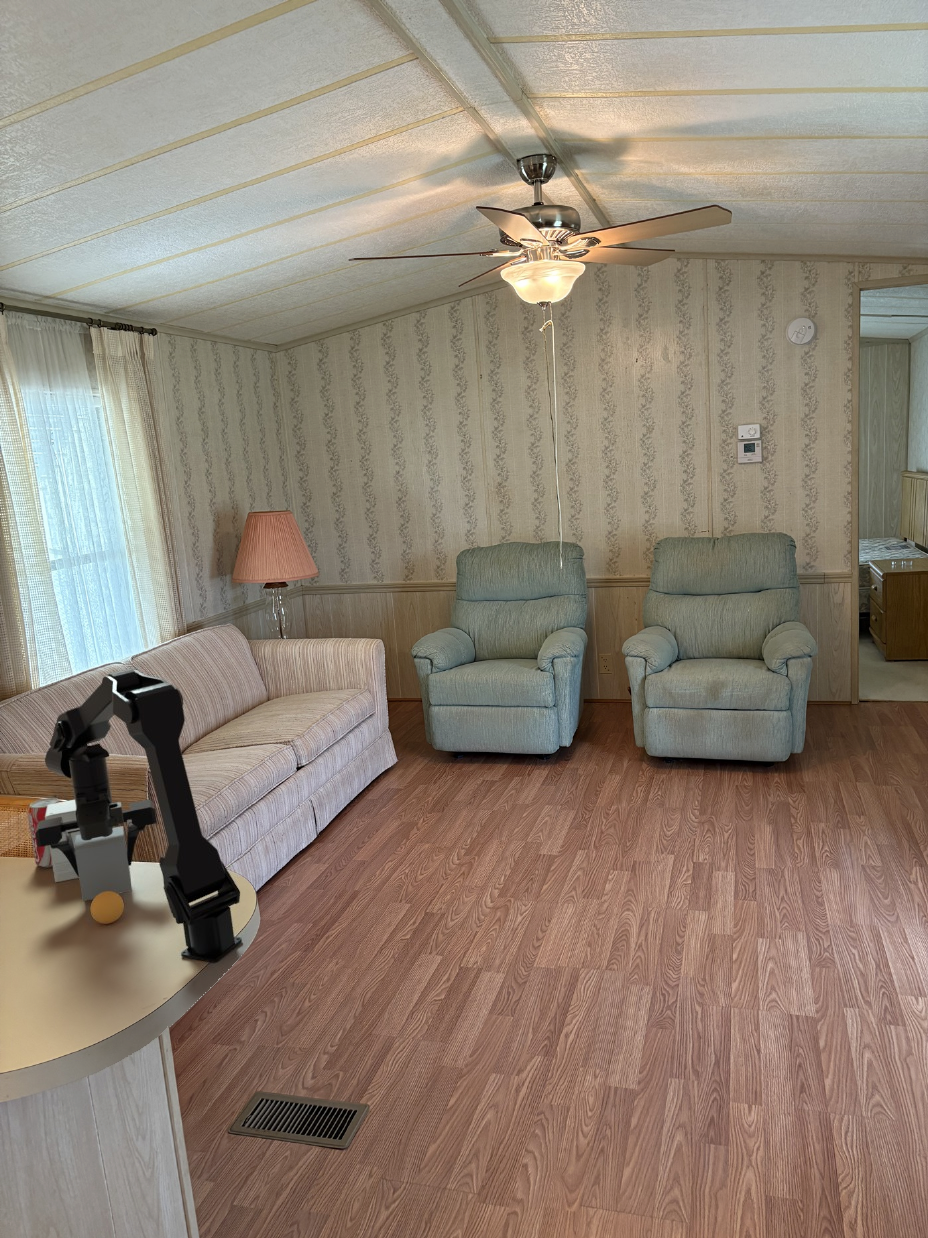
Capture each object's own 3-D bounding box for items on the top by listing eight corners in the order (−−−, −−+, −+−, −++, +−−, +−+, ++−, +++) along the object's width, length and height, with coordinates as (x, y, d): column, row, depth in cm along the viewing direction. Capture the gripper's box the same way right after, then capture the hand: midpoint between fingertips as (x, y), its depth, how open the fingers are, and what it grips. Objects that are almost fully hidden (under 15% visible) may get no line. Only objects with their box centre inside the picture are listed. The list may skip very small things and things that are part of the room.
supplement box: (98, 874, 173) (87, 808, 171) (54, 883, 171) (43, 816, 169) (99, 860, 180) (89, 796, 178) (57, 868, 177) (46, 803, 175)
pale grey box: (130, 873, 167) (123, 826, 166) (131, 890, 160) (124, 840, 159) (83, 884, 164) (75, 835, 163) (82, 901, 157) (74, 851, 156)
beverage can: (58, 870, 177) (48, 808, 175) (29, 870, 178) (18, 808, 176) (78, 856, 183) (68, 796, 181) (49, 856, 184) (39, 796, 182)
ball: (132, 916, 154) (128, 887, 154) (109, 931, 150) (105, 901, 149) (109, 913, 156) (104, 884, 156) (86, 927, 152) (81, 898, 151)
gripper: (26, 808, 149) (42, 902, 151) (151, 784, 155) (164, 875, 158) (31, 788, 159) (46, 876, 162) (148, 767, 165) (160, 852, 168)
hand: (104, 870), depth 162 cm, fingers closed on pale grey box, 8 cm apart
